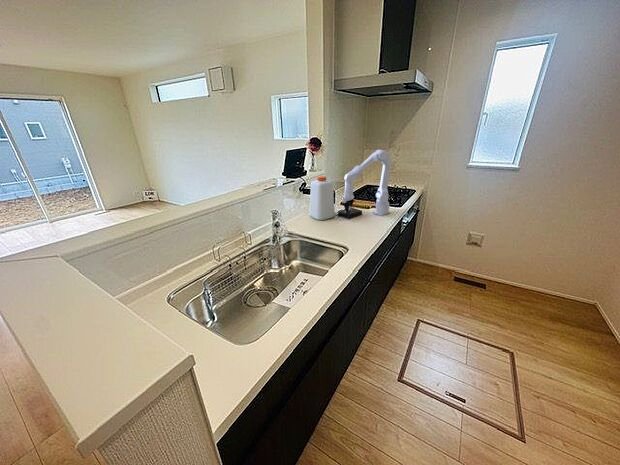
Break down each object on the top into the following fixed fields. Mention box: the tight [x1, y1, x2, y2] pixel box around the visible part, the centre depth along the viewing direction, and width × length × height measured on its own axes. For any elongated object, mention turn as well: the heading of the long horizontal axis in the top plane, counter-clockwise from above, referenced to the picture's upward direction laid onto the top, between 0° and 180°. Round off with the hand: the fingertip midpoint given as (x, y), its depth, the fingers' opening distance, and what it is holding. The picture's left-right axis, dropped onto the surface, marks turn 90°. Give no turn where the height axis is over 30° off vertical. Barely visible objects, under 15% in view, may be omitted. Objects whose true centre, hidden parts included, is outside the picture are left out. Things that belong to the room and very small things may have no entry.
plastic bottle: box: [309, 175, 336, 221], centre depth 173 cm, size 15×15×28 cm
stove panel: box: [337, 207, 363, 220], centre depth 179 cm, size 14×10×3 cm
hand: (348, 210), depth 179 cm, fingers closed on knob, 4 cm apart
